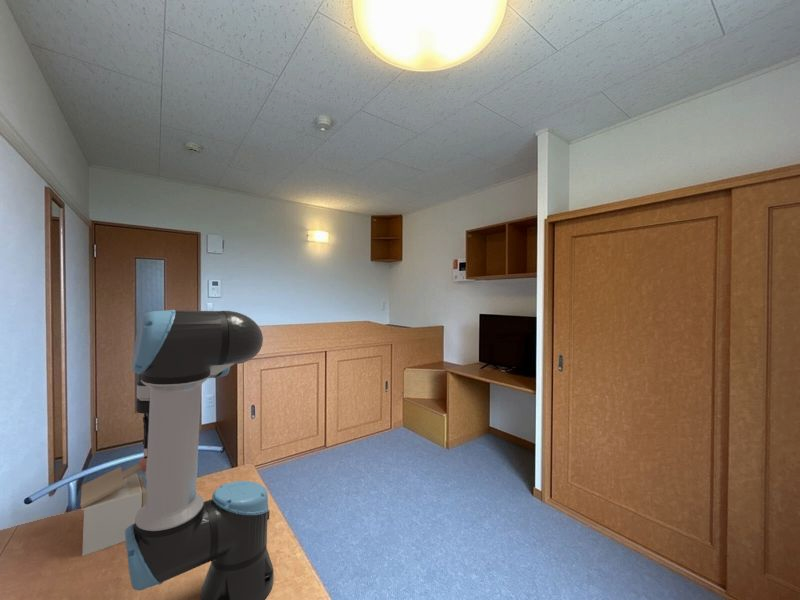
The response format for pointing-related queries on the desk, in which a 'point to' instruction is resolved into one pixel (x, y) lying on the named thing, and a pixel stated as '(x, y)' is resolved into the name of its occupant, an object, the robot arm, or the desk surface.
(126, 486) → the carton
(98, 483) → the flap
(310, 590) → the desk surface
